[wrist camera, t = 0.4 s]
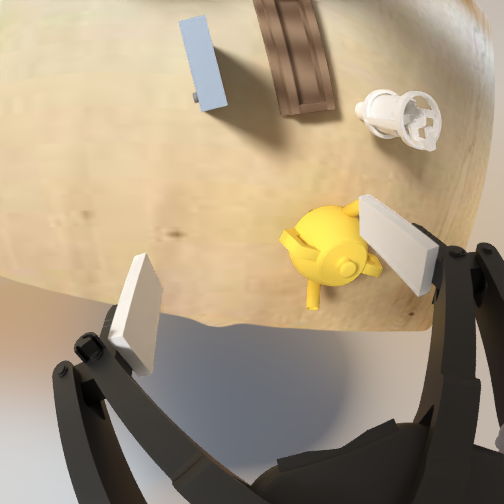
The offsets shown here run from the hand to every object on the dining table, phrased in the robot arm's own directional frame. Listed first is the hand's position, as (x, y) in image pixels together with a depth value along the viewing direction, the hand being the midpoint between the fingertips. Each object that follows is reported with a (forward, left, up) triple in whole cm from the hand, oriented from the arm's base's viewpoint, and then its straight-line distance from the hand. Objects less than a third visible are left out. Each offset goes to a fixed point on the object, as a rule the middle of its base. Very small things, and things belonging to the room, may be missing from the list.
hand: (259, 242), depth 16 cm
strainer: (-4, +22, -25) cm, 34 cm away
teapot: (+16, +12, -25) cm, 32 cm away
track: (-15, +13, -25) cm, 32 cm away
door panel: (-13, 0, -25) cm, 28 cm away
